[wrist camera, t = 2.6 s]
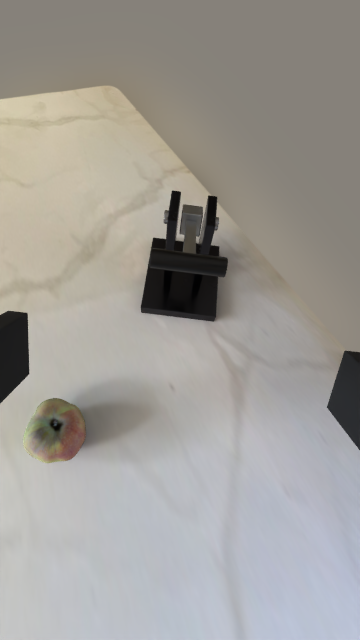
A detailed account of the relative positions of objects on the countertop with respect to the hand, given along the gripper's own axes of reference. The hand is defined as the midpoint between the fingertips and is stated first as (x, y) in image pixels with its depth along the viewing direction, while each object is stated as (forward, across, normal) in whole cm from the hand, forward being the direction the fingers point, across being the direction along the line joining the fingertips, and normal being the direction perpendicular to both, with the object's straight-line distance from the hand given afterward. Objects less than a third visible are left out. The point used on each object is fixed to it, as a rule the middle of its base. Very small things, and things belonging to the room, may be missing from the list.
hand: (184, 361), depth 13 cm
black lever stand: (+33, 0, -3) cm, 33 cm away
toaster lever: (+21, 0, +3) cm, 21 cm away
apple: (+17, -11, -19) cm, 28 cm away
